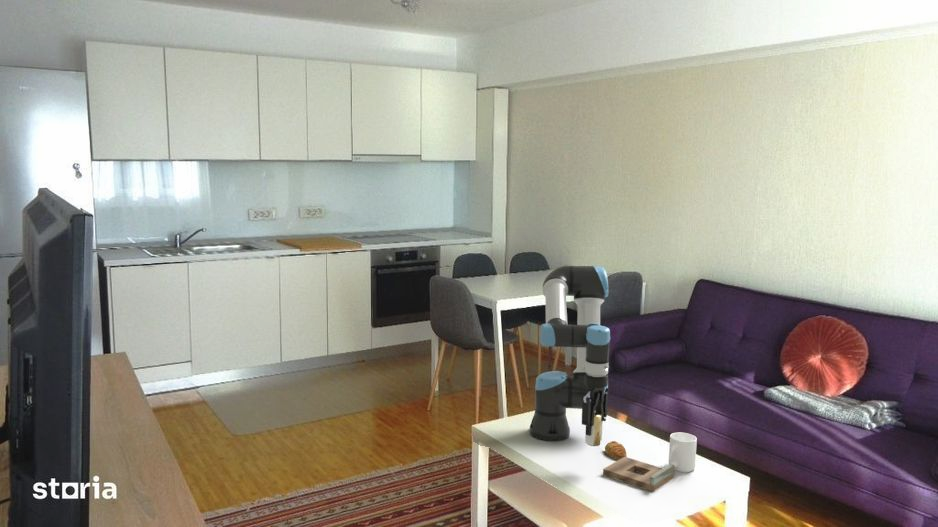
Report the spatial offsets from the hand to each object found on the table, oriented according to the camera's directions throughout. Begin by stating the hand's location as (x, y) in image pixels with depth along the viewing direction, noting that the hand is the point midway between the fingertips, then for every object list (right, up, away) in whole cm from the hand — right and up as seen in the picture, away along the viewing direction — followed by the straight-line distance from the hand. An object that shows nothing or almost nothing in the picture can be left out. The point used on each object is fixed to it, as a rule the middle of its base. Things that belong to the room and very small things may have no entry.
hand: (593, 441), depth 235 cm
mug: (+29, -10, +4) cm, 31 cm away
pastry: (+11, -9, +15) cm, 21 cm away
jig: (+14, -11, -3) cm, 18 cm away
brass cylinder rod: (0, -1, 0) cm, 1 cm away
